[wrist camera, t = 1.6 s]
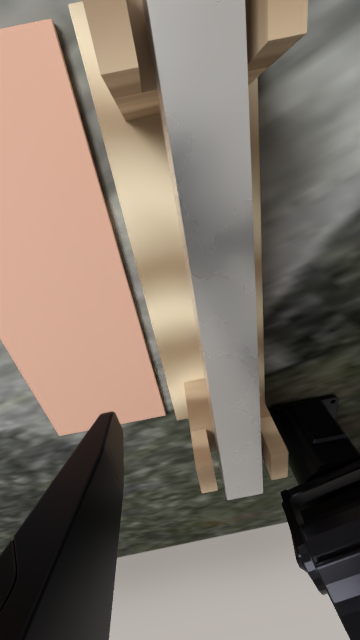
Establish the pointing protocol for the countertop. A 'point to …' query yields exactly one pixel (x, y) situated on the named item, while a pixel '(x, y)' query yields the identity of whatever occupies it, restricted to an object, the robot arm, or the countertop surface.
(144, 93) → the hook stand
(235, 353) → the steel rail
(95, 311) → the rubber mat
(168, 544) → the countertop surface
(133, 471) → the countertop surface
